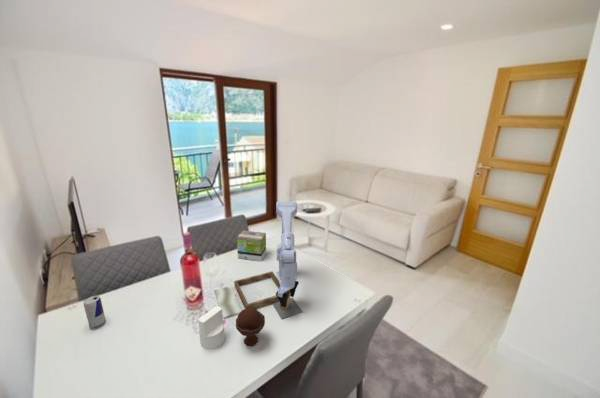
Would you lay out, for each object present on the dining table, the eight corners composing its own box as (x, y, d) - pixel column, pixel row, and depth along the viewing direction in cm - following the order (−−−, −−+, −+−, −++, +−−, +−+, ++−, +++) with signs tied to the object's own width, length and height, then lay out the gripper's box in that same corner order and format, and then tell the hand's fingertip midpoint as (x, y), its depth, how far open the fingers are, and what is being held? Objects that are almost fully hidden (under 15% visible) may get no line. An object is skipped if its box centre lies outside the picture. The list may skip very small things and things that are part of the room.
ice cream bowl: (270, 335, 104) (270, 303, 99) (254, 357, 94) (253, 323, 90) (248, 326, 108) (247, 295, 104) (230, 346, 98) (228, 313, 94)
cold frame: (272, 276, 142) (272, 271, 141) (288, 298, 125) (288, 293, 124) (214, 291, 128) (214, 286, 128) (223, 319, 111) (223, 313, 110)
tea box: (237, 259, 158) (236, 236, 153) (243, 251, 167) (242, 229, 163) (261, 261, 156) (261, 239, 151) (266, 253, 165) (266, 231, 161)
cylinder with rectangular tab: (211, 353, 95) (208, 326, 92) (195, 342, 100) (192, 316, 96) (229, 336, 103) (228, 311, 99) (214, 327, 107) (211, 302, 104)
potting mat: (292, 298, 125) (292, 297, 125) (302, 312, 117) (302, 311, 116) (272, 304, 120) (272, 303, 120) (281, 319, 112) (281, 318, 112)
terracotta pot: (282, 301, 122) (282, 288, 120) (292, 304, 120) (292, 291, 118) (276, 308, 117) (276, 295, 115) (287, 312, 115) (287, 298, 113)
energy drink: (109, 321, 108) (103, 297, 105) (95, 331, 104) (89, 305, 100) (100, 318, 110) (93, 293, 106) (86, 327, 105) (79, 302, 102)
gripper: (287, 264, 121) (287, 289, 125) (271, 281, 109) (271, 308, 113) (301, 268, 118) (300, 293, 122) (286, 285, 106) (285, 313, 110)
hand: (287, 301), depth 117 cm, fingers open, 7 cm apart
